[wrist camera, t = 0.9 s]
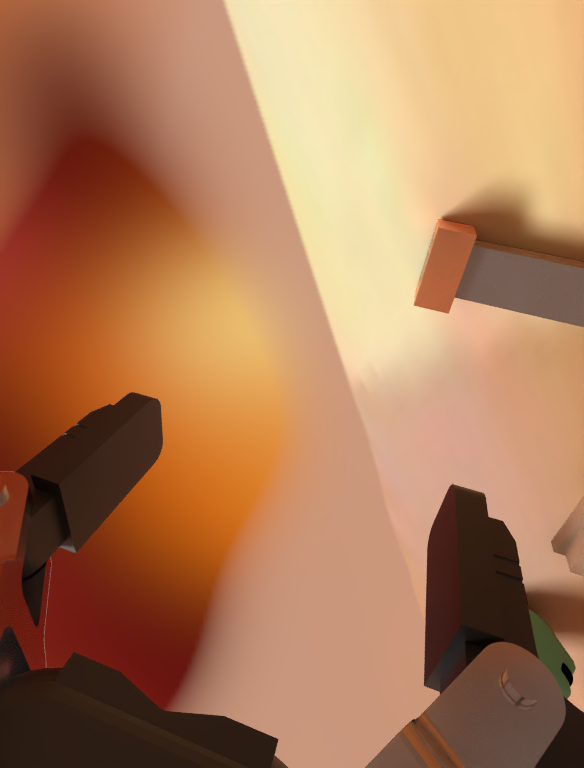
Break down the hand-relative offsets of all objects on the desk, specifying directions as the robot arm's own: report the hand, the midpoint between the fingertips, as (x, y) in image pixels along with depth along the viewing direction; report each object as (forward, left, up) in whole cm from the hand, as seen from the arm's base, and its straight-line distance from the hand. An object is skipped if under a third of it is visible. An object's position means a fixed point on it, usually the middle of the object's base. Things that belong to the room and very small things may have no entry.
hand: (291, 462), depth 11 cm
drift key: (-2, +9, -20) cm, 21 cm away
